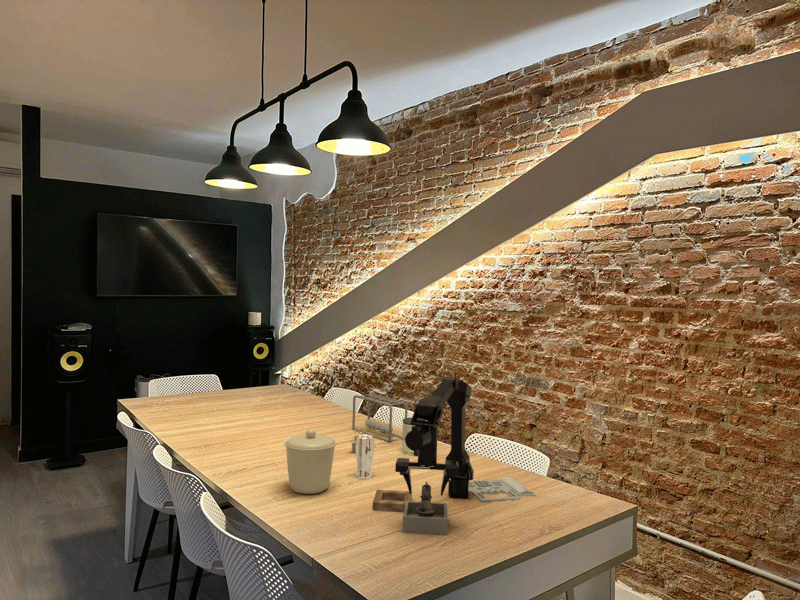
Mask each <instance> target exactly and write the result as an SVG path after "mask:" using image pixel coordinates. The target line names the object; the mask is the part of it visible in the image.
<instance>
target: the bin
mask: <svg viewBox="0 0 800 600" xmlns="http://www.w3.org/2000/svg"><path fill="white" fill-rule="evenodd" d="M420 505H421V501H416V500H415V501H414V500H412V501H405V507H404V512H402V513H403V514H402V533H407V534H408V533H410V534H411V533H412V534H425V535H427V534H428V535H442V536H443V535H444V536H445V535H446V536H448V524H449V523H448V522H449V520H448V519H449V518H448V516H449V515H448V503H447V502H432V501H431V506H432V507H433V508H435V512H434V515H433V517H419V516H418V514H417V511H416V508H417V507H419V506H420Z"/></svg>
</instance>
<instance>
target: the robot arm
mask: <svg viewBox="0 0 800 600" xmlns="http://www.w3.org/2000/svg"><path fill="white" fill-rule="evenodd" d="M472 392H473V391H472V387H471V386H470V385H469V383H467V382H464V381H462V380H460V379H459V378H458V377H455V376H443V377H442V379H441V382H440V383H439V384H438V386H436V388H435V389H434V391H433V392H432V393H431V394H430V395H429V396H426V397H423V398H421V399H420V400H419V401H418V402H417V404H416V405H415V407H414V410H413V414H412V416H411V418H412V420H411V425H415V426H412V431H410V432H408V433H407V435H406V437H405V443H406V445H407V447H408V448H409V449H410V450H413V451H414V455H413V457H417V461H415V462H414V461H410V458H409V457H398V458H396V460H395V461H396V462H395V468H394V470H395V471H394V472H397V473H399V475H400V476H403V478H404V480H405V482H406V486H407V488H408V491H409V492H410V494H412V495H413V490H412V489H413V488H412V487H413V485H412V475H411V469H412V470H414V469H415V470H430V471H431V470H432V471H443V474H442V480H441V488H440V497H443V495H444V492H445V489H446V487H447V493H448V495H449V498H453V499H454V498H455V499H469V498H470V497H469V496H470V495H469V493H468V488H469V481H474V471H475V470H474V469H473V466H472V464H471V462H470V461H471V460H470V455H469V453H468V451H467V450H466V407H467V405H468V404H469V402H470V401H471V400H470V399H471V396H472ZM446 403H447V404H448V406H449V408H450V411H451V412H450V428H451V429H450V451H449V453H448V454H447V456H446V457H445V460H444V463H441V462H440V463H439V462H438V463H437V461H438V432H439V429H438V427H439V426H440V422H441V420H442V417H443V414H444V410H443V407H444V405H446ZM417 419H420V420H417ZM423 420H426V421H423ZM447 485H448V486H447Z"/></svg>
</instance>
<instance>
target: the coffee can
mask: <svg viewBox="0 0 800 600" xmlns="http://www.w3.org/2000/svg"><path fill="white" fill-rule="evenodd" d="M411 420H412V417H407V418H405V417H404V418H402V435H401V436H402V439H401V441H402V442H401V444H402V445H401V453H402V454H403V455H408V456H414V451H413V450H410V449H409V448H408V447H407V445H406V443H405V437H406V435H407V433H408V432H410V431H412V426H415V425H411ZM417 420H420V419H417ZM423 421H427V420H423Z"/></svg>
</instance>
